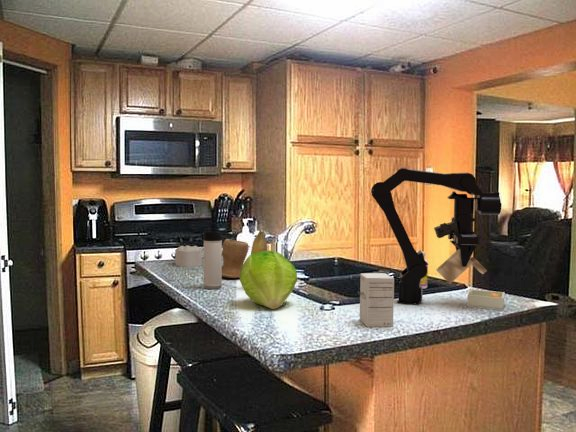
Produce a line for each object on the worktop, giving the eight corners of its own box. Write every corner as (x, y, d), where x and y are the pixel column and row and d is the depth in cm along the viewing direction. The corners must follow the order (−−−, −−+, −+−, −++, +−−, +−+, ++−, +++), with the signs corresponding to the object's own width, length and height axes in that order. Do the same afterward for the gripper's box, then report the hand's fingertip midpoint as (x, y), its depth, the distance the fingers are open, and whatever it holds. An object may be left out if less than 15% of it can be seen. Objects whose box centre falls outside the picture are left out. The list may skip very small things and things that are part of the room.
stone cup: (254, 277, 206) (254, 239, 206) (230, 281, 198) (230, 241, 197) (230, 273, 217) (230, 236, 216) (206, 276, 209) (206, 238, 208)
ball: (494, 290, 159) (498, 299, 157) (499, 292, 161) (503, 301, 159) (485, 295, 161) (489, 304, 159) (489, 296, 163) (494, 306, 161)
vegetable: (257, 291, 179) (257, 232, 178) (246, 288, 184) (246, 231, 183) (270, 288, 183) (271, 231, 182) (259, 286, 188) (259, 230, 187)
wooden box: (438, 272, 159) (464, 247, 158) (435, 269, 164) (461, 246, 163) (460, 294, 159) (487, 270, 157) (457, 291, 164) (483, 268, 162)
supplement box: (358, 319, 141) (359, 272, 140) (386, 319, 141) (387, 272, 141) (365, 327, 133) (366, 277, 133) (393, 326, 134) (394, 277, 133)
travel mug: (199, 288, 182) (199, 231, 181) (209, 285, 188) (209, 229, 187) (215, 290, 180) (215, 231, 179) (224, 287, 186) (225, 230, 185)
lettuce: (233, 315, 150) (256, 276, 143) (230, 270, 167) (251, 232, 160) (286, 329, 157) (311, 293, 149) (278, 284, 173) (300, 249, 166)
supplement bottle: (427, 289, 184) (428, 253, 184) (408, 288, 186) (409, 252, 185) (426, 286, 191) (427, 251, 190) (407, 285, 192) (408, 250, 192)
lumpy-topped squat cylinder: (183, 267, 231) (183, 248, 231) (170, 264, 241) (170, 245, 241) (204, 265, 238) (204, 246, 237) (190, 262, 248) (190, 244, 247)
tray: (467, 306, 158) (467, 295, 158) (470, 300, 167) (470, 289, 167) (503, 310, 154) (503, 298, 154) (504, 303, 163) (504, 292, 163)
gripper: (432, 212, 170) (431, 260, 171) (440, 215, 152) (439, 269, 153) (468, 213, 169) (467, 261, 170) (481, 215, 150) (479, 270, 151)
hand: (462, 265), depth 161 cm, fingers closed on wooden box, 5 cm apart
